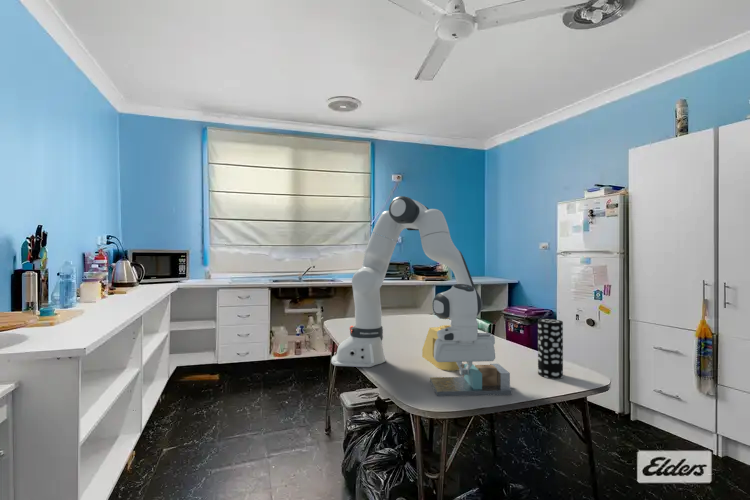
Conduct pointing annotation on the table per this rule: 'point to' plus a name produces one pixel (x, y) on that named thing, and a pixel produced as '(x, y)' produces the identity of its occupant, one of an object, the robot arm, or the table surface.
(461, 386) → the vise
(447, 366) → the clamp
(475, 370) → the block
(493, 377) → the block
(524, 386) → the table surface
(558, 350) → the white-spotted black cylinder
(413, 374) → the table surface
